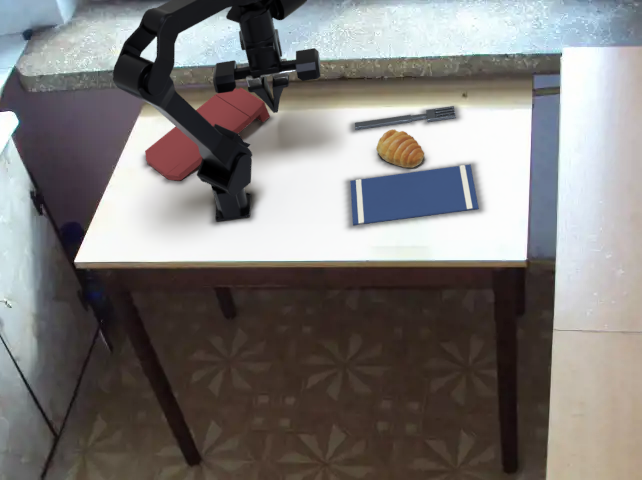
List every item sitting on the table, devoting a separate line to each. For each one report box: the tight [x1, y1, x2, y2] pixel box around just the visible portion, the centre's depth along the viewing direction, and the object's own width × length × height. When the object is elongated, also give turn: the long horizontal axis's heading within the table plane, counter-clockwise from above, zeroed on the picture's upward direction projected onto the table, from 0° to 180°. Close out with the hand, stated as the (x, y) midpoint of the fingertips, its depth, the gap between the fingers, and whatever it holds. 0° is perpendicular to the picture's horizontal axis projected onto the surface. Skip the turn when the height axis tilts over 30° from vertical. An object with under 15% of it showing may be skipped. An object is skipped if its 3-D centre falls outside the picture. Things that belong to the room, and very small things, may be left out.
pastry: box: [375, 128, 425, 169], centre depth 176 cm, size 9×7×4 cm
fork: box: [354, 105, 457, 131], centre depth 184 cm, size 3×19×1 cm, turn 89°
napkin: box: [350, 164, 480, 226], centre depth 170 cm, size 12×22×1 cm, turn 89°
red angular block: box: [144, 87, 271, 181], centre depth 190 cm, size 12×5×25 cm
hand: (275, 111), depth 173 cm, fingers closed
